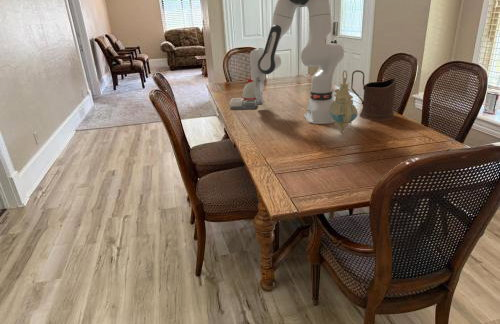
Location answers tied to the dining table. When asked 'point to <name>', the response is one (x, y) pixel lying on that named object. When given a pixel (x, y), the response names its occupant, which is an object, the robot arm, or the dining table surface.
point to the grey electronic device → (242, 104)
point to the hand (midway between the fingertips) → (259, 99)
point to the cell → (260, 100)
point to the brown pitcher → (377, 99)
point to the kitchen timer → (249, 91)
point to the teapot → (343, 106)
